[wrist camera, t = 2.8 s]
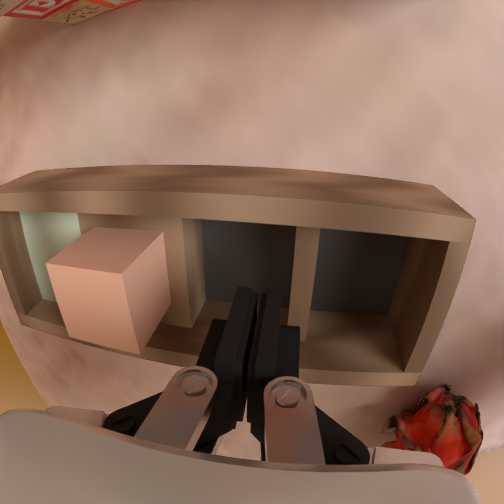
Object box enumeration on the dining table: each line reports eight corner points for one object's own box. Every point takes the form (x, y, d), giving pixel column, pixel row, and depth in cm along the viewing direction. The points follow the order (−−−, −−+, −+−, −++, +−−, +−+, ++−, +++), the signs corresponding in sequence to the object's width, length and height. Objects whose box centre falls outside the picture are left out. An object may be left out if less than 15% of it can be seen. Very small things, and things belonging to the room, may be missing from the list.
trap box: (432, 185, 15) (476, 219, 10) (397, 326, 18) (414, 385, 14) (35, 170, 18) (-18, 194, 13) (60, 286, 22) (21, 324, 17)
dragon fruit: (396, 437, 26) (422, 342, 23) (467, 462, 20) (514, 367, 17) (351, 495, 21) (377, 405, 17) (433, 530, 15) (497, 445, 11)
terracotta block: (163, 231, 15) (121, 274, 11) (171, 303, 16) (140, 354, 13) (93, 226, 15) (45, 262, 12) (107, 293, 17) (69, 336, 13)
